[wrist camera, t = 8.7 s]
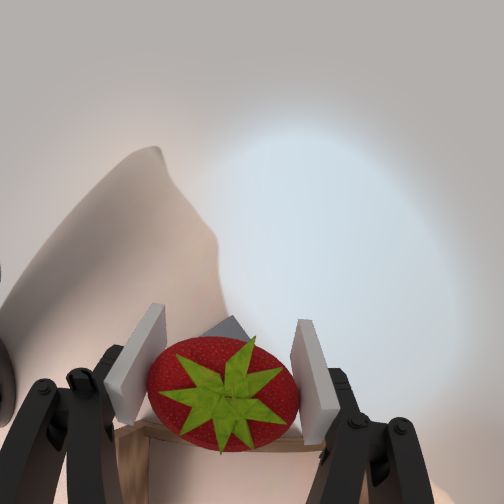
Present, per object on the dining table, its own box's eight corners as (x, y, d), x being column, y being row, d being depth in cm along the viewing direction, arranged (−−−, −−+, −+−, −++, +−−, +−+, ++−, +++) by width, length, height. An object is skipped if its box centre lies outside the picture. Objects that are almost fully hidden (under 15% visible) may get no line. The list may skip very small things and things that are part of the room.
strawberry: (181, 336, 18) (135, 291, 9) (287, 360, 18) (343, 337, 9) (162, 414, 15) (97, 441, 6) (271, 439, 15) (311, 492, 6)
